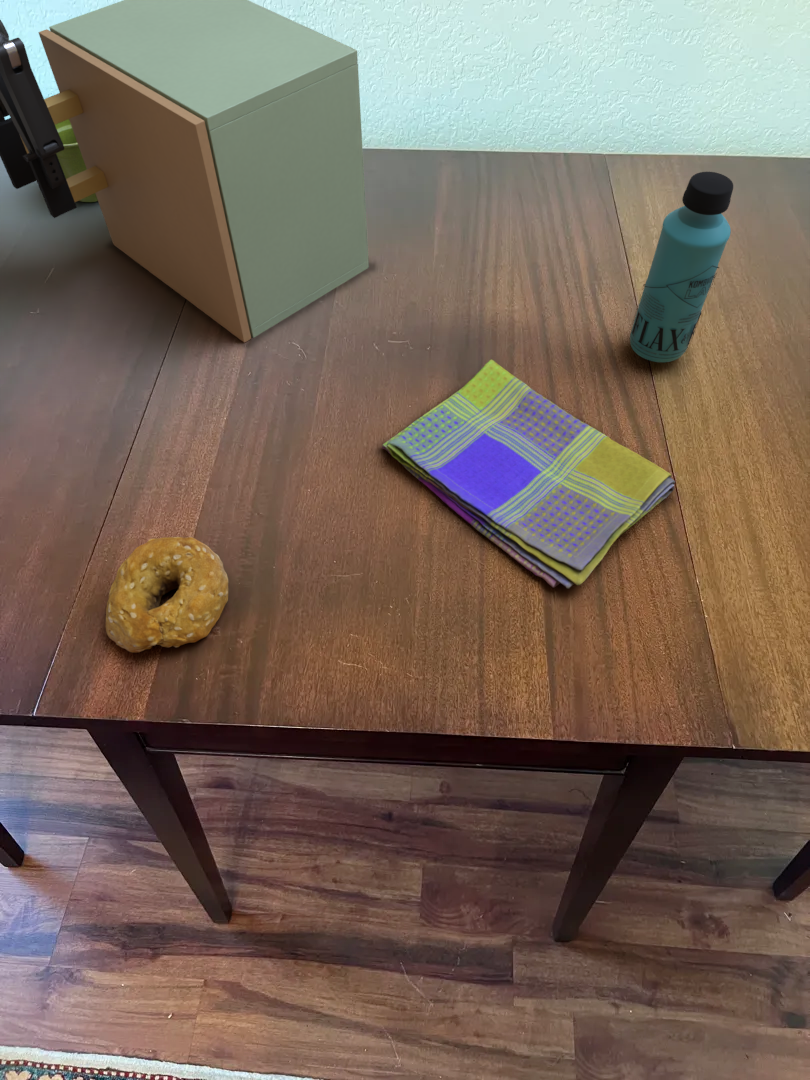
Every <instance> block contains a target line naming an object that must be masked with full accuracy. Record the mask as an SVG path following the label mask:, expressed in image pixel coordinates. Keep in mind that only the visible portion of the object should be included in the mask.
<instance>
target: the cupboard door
mask: <svg viewBox="0 0 810 1080" xmlns="http://www.w3.org/2000/svg"><path fill="white" fill-rule="evenodd" d="M38 35H39V38H40V41H41V44H42V47H43V49H44V53H45V56H46V58H47V61H48V64H49V67H50V69H51V73H52V76H53V78H54V80H55V83H56V86H57V90H58V93H55V94H54V95H51V96H47V97H46V98H44V100H45V103H46V105H47V107H48V110H49V112H50V114H51V117H52V119H53V122H54V124H58V123H60V122H63V121H65V120H67V119H69V120H70V123H71V126H72V129H73V132H74V134H75V137H76V140H77V143H78V146H79V149H80V151H81V154H82V157H83V160H84V163H85V165H86V168H87V170H85V171H83V172H80V173H78V174H76V175H74V176H71V177H69V178H67V179H66V180H67V183H68V186H69V188H70V191H71V193H72V196H73V199H74V201H75V203H77V202H80V201H79V200H81V199H83V198H85V197H88V196H90V195H92V194H94V193H95V194H96V197H97V199H98V201H97V202H98V205H99V208H100V210H101V211H100V212H101V213H102V216H103V219H104V222H105V224H106V228H107V231H108V233H109V236H110V239H111V241H112V244H113V246H115V247H116V248H117V249H119V250H120V251H121V252H123V253H124V254H125V255H126V256H128V257H129V258H130V259H132V260H133V261H134V262H135V263H137V264H139V265H140V266H141V267H143V268H144V269H145V270H147V271H148V272H149V273H150V274H152V275H153V276H155V277H156V278H157V279H159V280H160V281H162V282H163V283H164V284H165V285H167V286H168V287H169V288H171V289H173V291H174V292H176V293H177V294H179V295H180V296H181V297H183V298H184V299H186V300H187V301H188V302H189V303H191V304H192V305H194V306H195V307H196V308H197V309H199V310H200V311H201V312H202V313H204V314H205V315H206V316H208V317H210V318H211V319H212V320H213V321H215V322H216V323H217V324H219V325H220V326H222V328H224V329H225V330H227V331H228V332H229V333H231V334H232V335H233V336H235V337H236V338H237V339H238V340H240V341H241V342H243V343H246V342H248V341H250V340H252V337H251V335H250V330H249V326H248V321H247V316H246V312H245V307H244V302H243V298H242V293H241V288H240V284H239V279H238V274H237V270H236V265H235V261H234V256H233V251H232V247H231V242H230V237H229V233H228V228H227V223H226V219H225V214H224V209H223V205H222V200H221V196H220V191H219V186H218V182H217V177H216V172H215V168H214V163H213V158H212V154H211V149H210V144H209V140H208V135H207V130H206V126H205V121H204V120H202V119H201V118H199V117H197V116H195V115H194V114H192V113H190V112H188V111H187V110H185V109H183V108H182V107H180V106H178V105H176V104H175V103H173V102H171V101H170V100H168V99H166V98H164V97H163V96H161V95H159V94H158V93H156V92H154V91H152V90H151V89H149V88H147V87H145V86H144V85H142V84H140V83H139V82H137V81H135V80H133V79H132V78H130V77H128V76H127V75H125V74H123V73H121V72H120V71H118V70H116V69H115V68H113V67H111V66H109V65H108V64H106V63H104V62H102V61H101V60H99V59H97V58H96V57H94V56H92V55H90V54H89V53H87V52H85V51H84V50H82V49H80V48H78V47H77V46H75V45H73V44H71V43H70V42H68V41H66V40H65V39H63V38H61V37H59V36H58V35H56V34H54V33H53V32H51V31H50V29H47V28H46V29H44V30H41V31H38ZM20 137H21V136H20ZM21 139H22V138H21ZM22 142H23V140H22ZM23 144H24V142H23ZM24 147H25V149H26V151H27V154H28V153H29V152H28V149H27V147H26V146H25V144H24Z"/></svg>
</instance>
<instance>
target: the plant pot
mask: <svg viewBox="0 0 810 1080" xmlns="http://www.w3.org/2000/svg"><path fill="white" fill-rule="evenodd" d="M55 126H56V129H57V131H58V134H59V136H60V138H61V141H62V143H63V146H64V150H63V151H60V152H58V153H56V154H57V157H58V159H59V162H60V165H61V167H62V170H63V172H64V175H65V178H66V179H67V178H69V177H71V176H74V175H76V174H78V173H80V172H83V171H85V170H87V168H86V165H85V163H84V160H83V157H82V154H81V151H80V149H79V146H78V143H77V140H76V137H75V134H74V132H73V129H72V126H71V123H70V120H69V119H67V120H65V121H63V122H60V123H58V124H55ZM78 202H82V203H96V202H98V199H97V197H96V194H95V193H94V194H92V195H90V196H88V197H85V198H83V199H81V200H79V201H78Z"/></svg>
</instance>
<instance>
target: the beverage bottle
mask: <svg viewBox="0 0 810 1080" xmlns="http://www.w3.org/2000/svg"><path fill="white" fill-rule="evenodd" d="M733 191H734V182H733V181H732V179H730V178H729V177H728V176H726V175H724V174H722V173H719V172H715V171H700V172H696V173H695V174H693V175H692V176H691V177H690V179H689V181H688V183H687V186H686V188H685V190H684V192H683V194H682V195H683V196H682V198H681V199H682V201H681V202H682V204H683V205H684V206H681V207H678V208H676V209H674V210H672V211H670V212H669V213H668V214H667V215H666V216H664V219H663V221H662V226H661V227H662V228H661V231H660V234H659V237H658V241H657V244H656V248H655V251H654V255H653V258H652V262H651V265H650V268H649V272H648V275H647V278H646V280H645V283H643V284H642V290H641V293H640V294H639V295H640V298H638V303H637V307H636V310H635V311H636V312H635V313H634V317H633V318H632V323H631V327H630V329H629V332H628V333H629V337H628V338H629V345H630V347H631V349H632V350H633V351H634V353H635V354H637V355H638V356H639V357H641V358H642V359H645V360H647V361H650V362H654V363H670V362H673V361H676V360H679V359H680V358H681V357H683V355H684V354H685V353H686V352H687V351H688V349H689V348H690V345H691V342H692V341H693V338H694V335H695V333H696V329H697V327H698V325H699V322H700V320H701V319H700V318H701V316H702V311H703V307H704V304H705V303H706V302H705V301H706V299H707V298H708V295H709V293H710V292H711V289H712V288H713V284H714V281H715V278H716V276H717V274H718V272H717V270H718V269H720V267H719V264H720V261H721V258H722V255H723V253H724V250H725V248H726V245H727V242H728V241H729V240H730V237H731V232H732V231H731V229H732V228H731V226H730V223H729V221H728V220H727V219H726V217H725V216H724V214H723V213H725V212H726V211H727V210H728V209H729V206H730V204H731V201H732V200H731V198H732V196H733V195H732V194H733Z"/></svg>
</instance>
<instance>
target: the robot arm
mask: <svg viewBox="0 0 810 1080" xmlns="http://www.w3.org/2000/svg"><path fill="white" fill-rule="evenodd" d="M44 99H45V98H44V96H43V93H42V91H41V88H40V86H39V83H38V81H37V78H36V76H35V74H34V72H33V69H32V67H31V63H30V59H29V56H28V53H27V49H26V46H25V44H24V42H23V41H22V39H21V38H20V37H16V38H13V39H10V34H9V32H8V30H7V28H6V27H5V25H4V23H3V21H2V20H1V19H0V160H1V161H2V164H3V166H4V168H5V170H6V173H7V175H8V178H9V180H10V182H11V184H12V186H13V188H14V189H16V190H18V189H21V188H23V187H25V186H28V185H30V184H32V183H35V182H36V183H37V184H38V187H39V190H40V192H41V195H42V197H43V200H44V202H45V204H46V207H47V210H48V212H49V215H50V216H51V217H52V218H54V219H56V218H58V217H60V216H62V215H64V214H66V213H68V212H71V211H73V210H75V209H77V208H78V207H77V204H76V202H75V201H74V199H73V196H72V193H71V191H70V188H69V186H68V183H67V180H66V178H65V175H64V172H63V170H62V167H61V165H60V162H59V159H58V157H57V154H56V153H58V152H60V151H63V150H64V146H63V143H62V141H61V138H60V136H59V134H58V131H57V129H56V126H55V124H54V122H53V119H52V117H51V114H50V112H49V110H48V107H47V105H46V103H45V100H44ZM6 117H8V118H7V119H6ZM20 136H21V137H20ZM21 138H22V139H21ZM22 140H23V142H24V144H25V146H26V147H27V149H28V152H29V153H28V154H27V151H26V149H25V147H24V144H23V142H22Z"/></svg>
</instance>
